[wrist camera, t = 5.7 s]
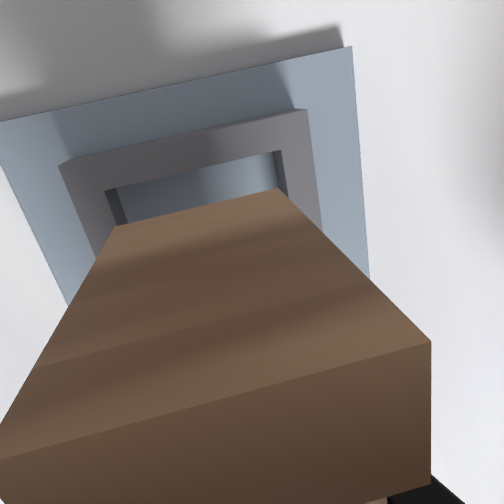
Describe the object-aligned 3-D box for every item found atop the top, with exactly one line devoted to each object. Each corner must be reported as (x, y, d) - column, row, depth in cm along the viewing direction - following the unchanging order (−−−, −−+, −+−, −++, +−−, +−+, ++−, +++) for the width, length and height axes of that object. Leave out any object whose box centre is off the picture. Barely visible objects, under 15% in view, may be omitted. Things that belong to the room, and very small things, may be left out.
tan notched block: (114, 226, 9) (-24, 465, 3) (277, 187, 9) (430, 341, 3) (227, 526, 14) (254, 833, 8) (331, 495, 14) (429, 771, 8)
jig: (345, 47, 13) (372, 38, 11) (375, 419, 20) (395, 453, 18) (-9, 124, 12) (-47, 129, 10) (158, 481, 19) (154, 523, 17)
